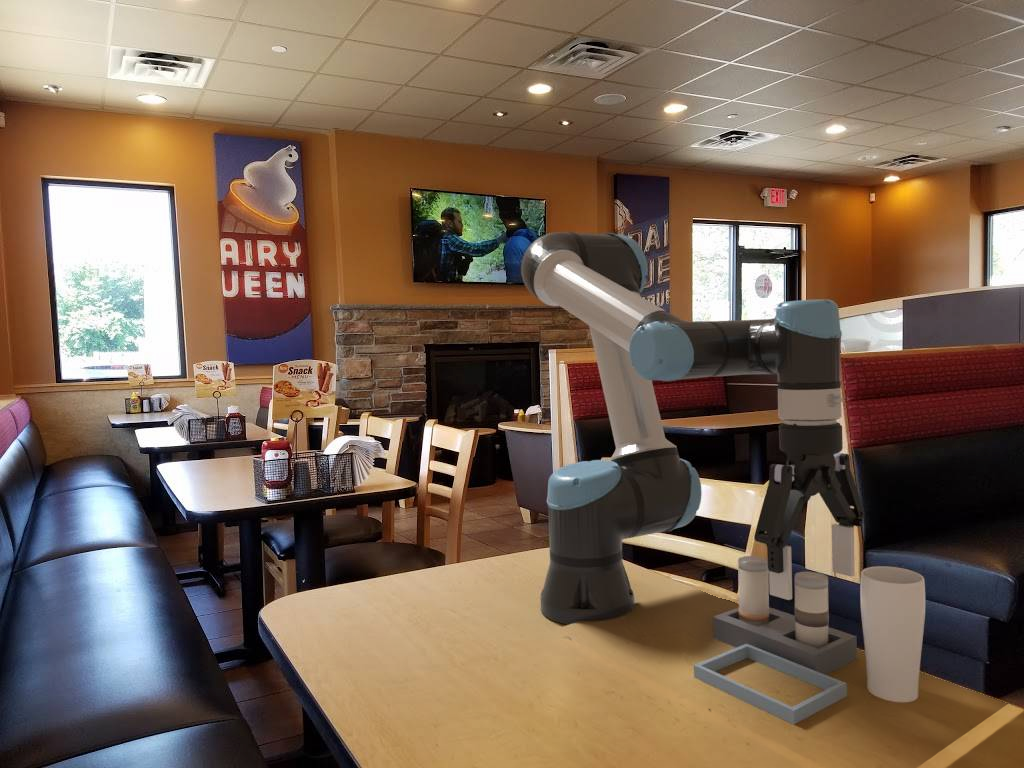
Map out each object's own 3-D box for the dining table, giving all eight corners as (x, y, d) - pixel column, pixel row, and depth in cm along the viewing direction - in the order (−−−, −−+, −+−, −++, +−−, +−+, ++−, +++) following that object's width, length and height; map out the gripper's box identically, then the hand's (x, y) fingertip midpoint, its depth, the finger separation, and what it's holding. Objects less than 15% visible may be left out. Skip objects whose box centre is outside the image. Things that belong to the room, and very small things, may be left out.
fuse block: (713, 644, 103) (712, 616, 103) (753, 628, 108) (753, 601, 108) (815, 686, 90) (815, 655, 90) (856, 666, 95) (856, 636, 95)
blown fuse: (788, 658, 96) (787, 576, 95) (807, 649, 98) (806, 569, 97) (816, 669, 92) (816, 584, 92) (835, 660, 95) (835, 577, 94)
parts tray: (694, 684, 92) (693, 665, 92) (746, 661, 97) (746, 643, 97) (793, 732, 80) (793, 710, 80) (846, 703, 86) (846, 683, 85)
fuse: (732, 636, 103) (731, 559, 103) (751, 628, 106) (750, 554, 105) (757, 645, 100) (756, 567, 99) (775, 637, 102) (774, 560, 101)
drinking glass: (923, 719, 82) (923, 588, 81) (857, 704, 85) (856, 579, 84) (926, 693, 88) (926, 570, 87) (864, 680, 91) (863, 562, 90)
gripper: (774, 433, 83) (778, 616, 84) (891, 414, 97) (893, 571, 98) (721, 428, 89) (726, 599, 90) (838, 411, 103) (841, 559, 104)
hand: (813, 585), depth 94 cm, fingers open, 13 cm apart
